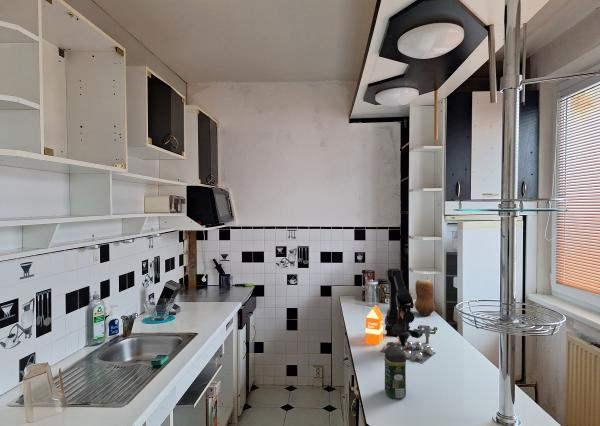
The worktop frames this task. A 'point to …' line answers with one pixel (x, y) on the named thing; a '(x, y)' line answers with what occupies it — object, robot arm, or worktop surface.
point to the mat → (414, 354)
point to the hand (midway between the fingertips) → (403, 346)
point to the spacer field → (426, 349)
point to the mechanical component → (427, 331)
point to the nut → (392, 344)
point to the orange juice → (374, 326)
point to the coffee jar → (395, 373)
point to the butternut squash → (424, 297)
